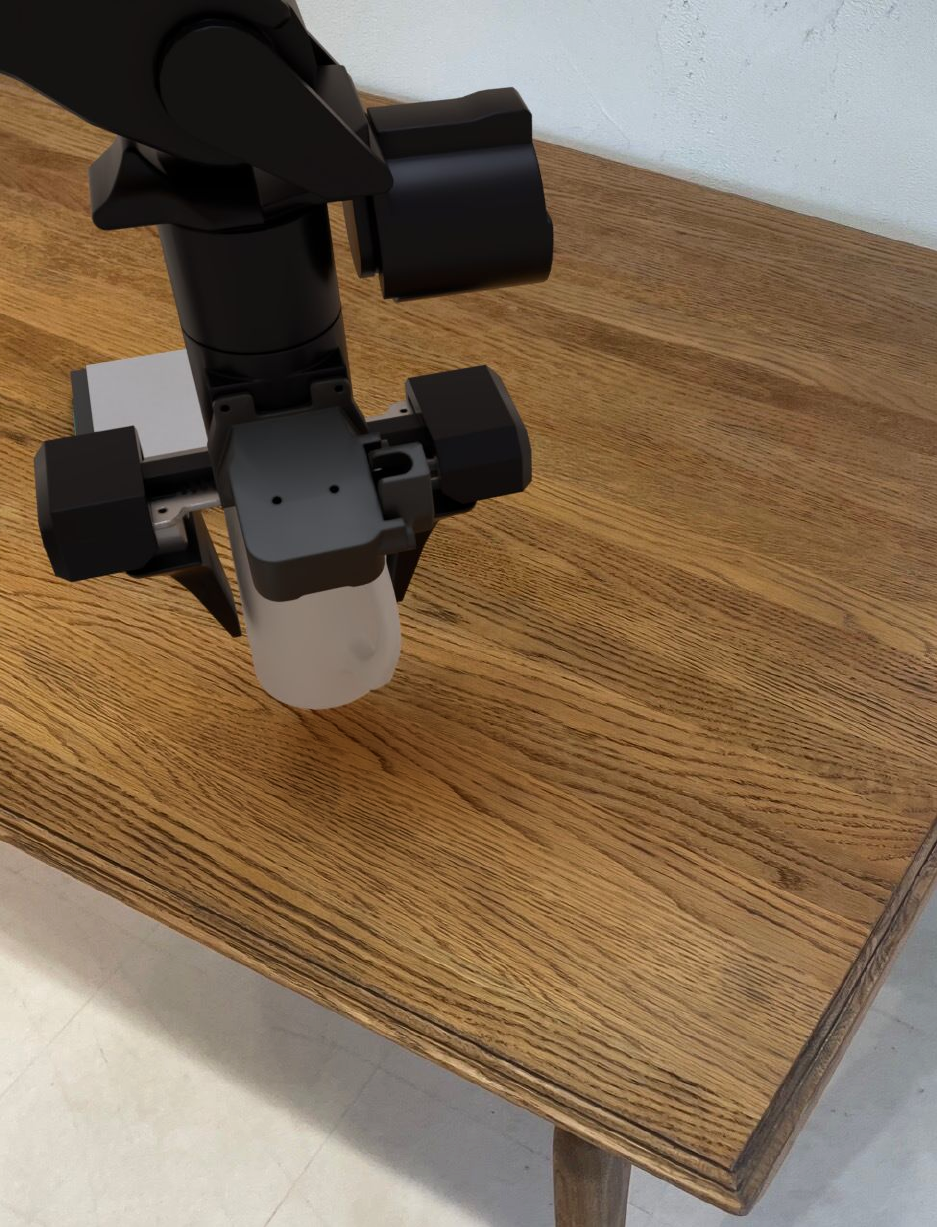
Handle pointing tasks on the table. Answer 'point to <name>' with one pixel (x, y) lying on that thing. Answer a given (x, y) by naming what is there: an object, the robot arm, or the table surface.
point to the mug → (319, 636)
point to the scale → (142, 402)
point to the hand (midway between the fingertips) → (317, 613)
